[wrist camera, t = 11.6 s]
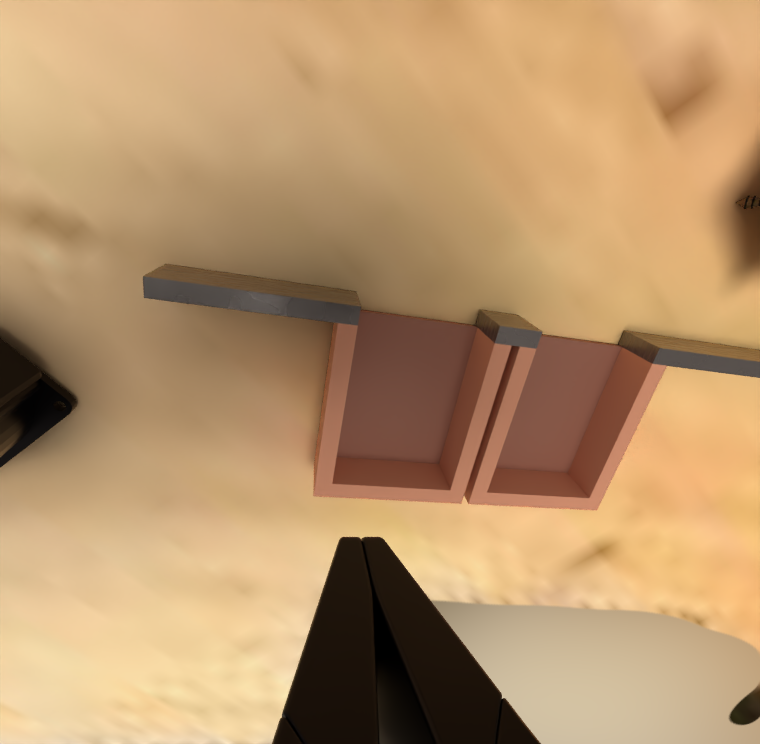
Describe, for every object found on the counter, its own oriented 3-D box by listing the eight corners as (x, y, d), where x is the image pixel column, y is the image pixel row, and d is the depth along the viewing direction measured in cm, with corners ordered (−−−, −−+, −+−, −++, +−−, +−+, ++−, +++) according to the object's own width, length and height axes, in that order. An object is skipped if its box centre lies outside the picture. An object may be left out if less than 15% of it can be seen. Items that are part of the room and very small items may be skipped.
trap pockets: (314, 464, 22) (313, 496, 20) (336, 306, 19) (338, 323, 17) (572, 481, 25) (596, 510, 23) (631, 346, 22) (666, 365, 20)
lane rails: (166, 283, 18) (143, 297, 15) (151, -339, 11) (108, -471, 9) (845, 376, 25) (897, 395, 23) (1078, 29, 18) (1184, 8, 16)
